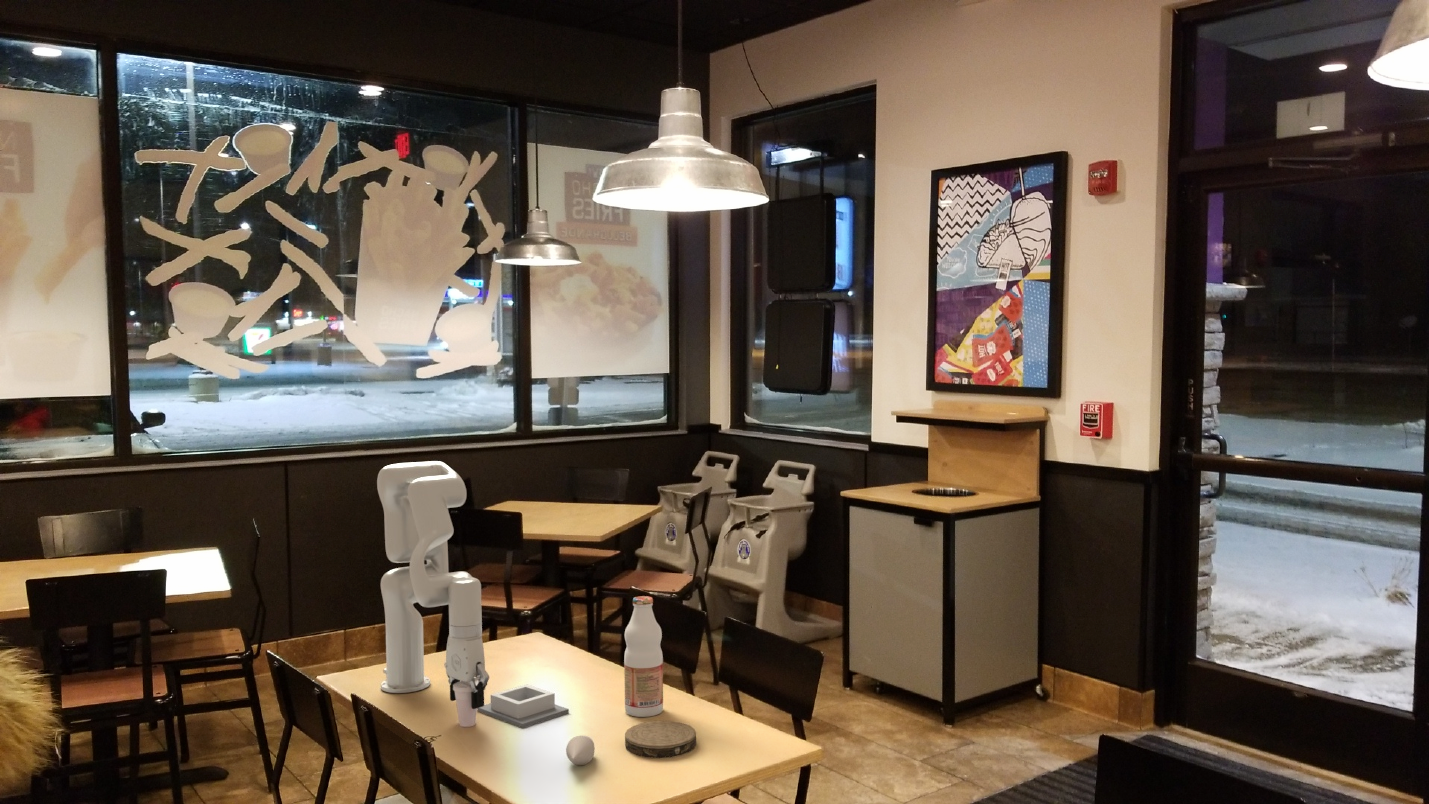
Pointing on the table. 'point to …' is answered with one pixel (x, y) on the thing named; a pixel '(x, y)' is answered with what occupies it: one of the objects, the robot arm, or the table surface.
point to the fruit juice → (643, 661)
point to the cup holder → (523, 706)
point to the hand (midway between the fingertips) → (467, 703)
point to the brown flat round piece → (660, 739)
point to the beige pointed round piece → (580, 750)
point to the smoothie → (465, 703)
